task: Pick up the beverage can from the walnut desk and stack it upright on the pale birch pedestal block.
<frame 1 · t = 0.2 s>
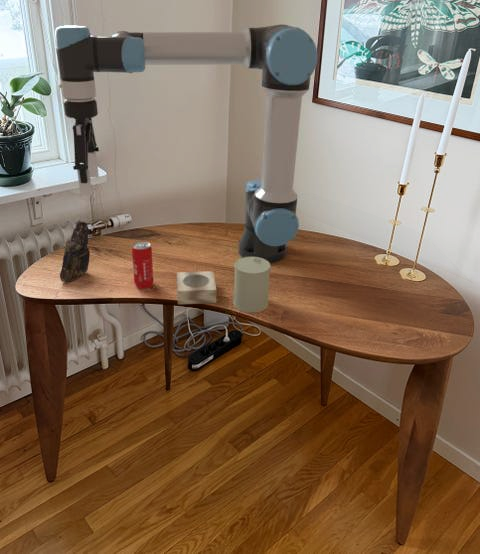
hand: (90, 185, 133), 27 cm above the table, fingers open, 13 cm apart
statue: (77, 275, 147), on the table
can: (250, 304, 137), on the table
beverage can: (144, 285, 144), on the table
base: (196, 293, 140), on the table
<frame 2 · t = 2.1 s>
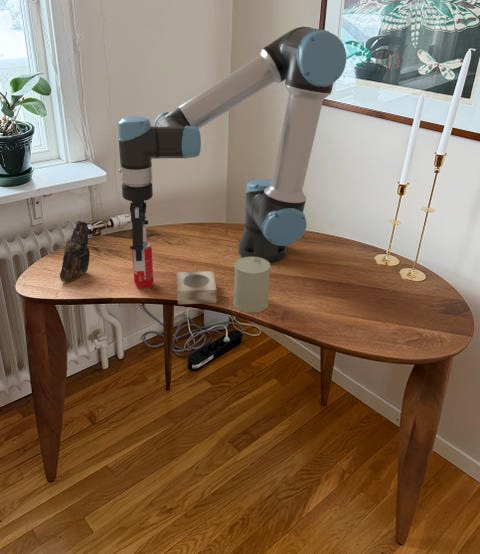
hand: (140, 258, 140), 8 cm above the table, fingers open, 13 cm apart
nothing on the table moved.
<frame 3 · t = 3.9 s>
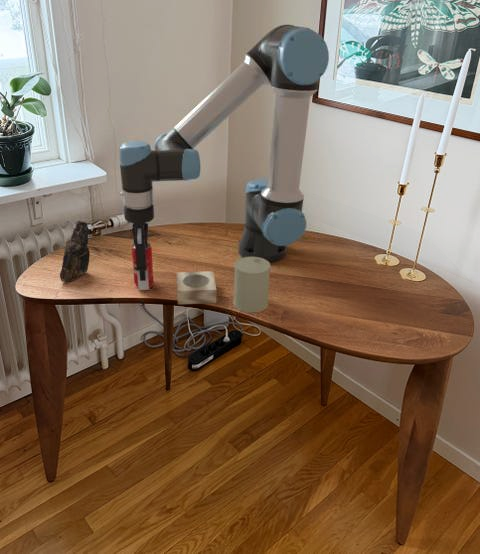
hand: (144, 283, 143), 0 cm above the table, fingers closed on beverage can, 5 cm apart
beverage can: (144, 285, 144), on the table, touching gripper
everything else where it was.
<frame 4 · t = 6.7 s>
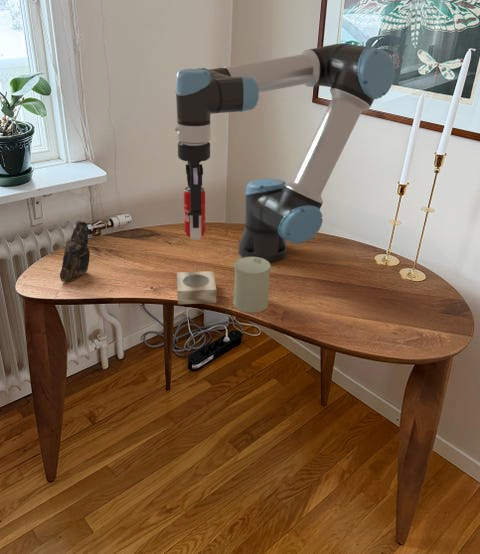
hand: (195, 233, 132), 18 cm above the table, fingers closed on beverage can, 5 cm apart
beverage can: (195, 235, 132), point 17 cm above the table, touching gripper
everything else where it was.
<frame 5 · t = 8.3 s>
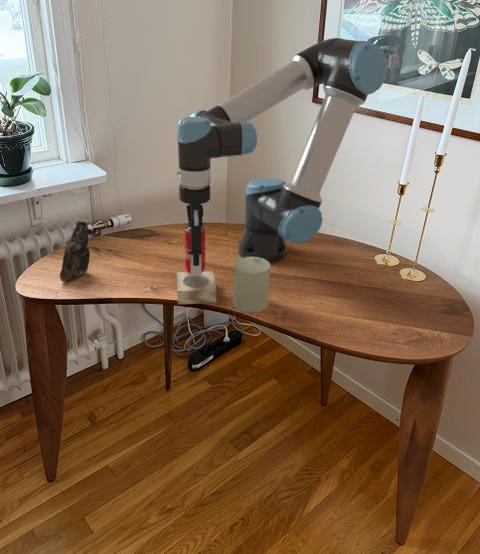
hand: (195, 269, 137), 7 cm above the table, fingers closed on beverage can, 5 cm apart
beverage can: (195, 271, 137), point 7 cm above the table, touching gripper
everything else where it was.
when the fingers open (6 cm above the table, at t = 9.4 s): beverage can drops 1 cm, resting on base.
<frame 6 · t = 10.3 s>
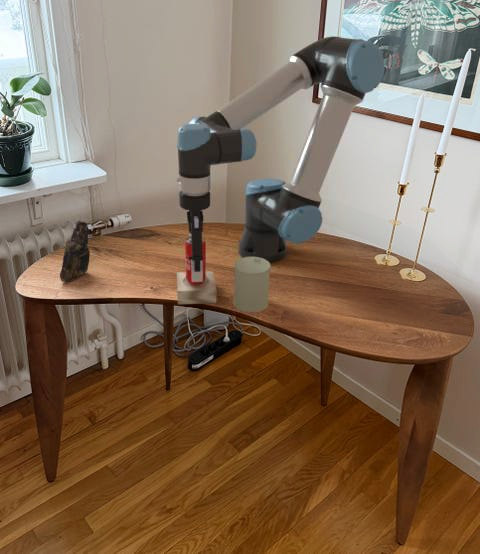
hand: (195, 268, 136), 8 cm above the table, fingers open, 13 cm apart
beverage can: (196, 281, 138), point 4 cm above the table, touching base
everything else where it was.
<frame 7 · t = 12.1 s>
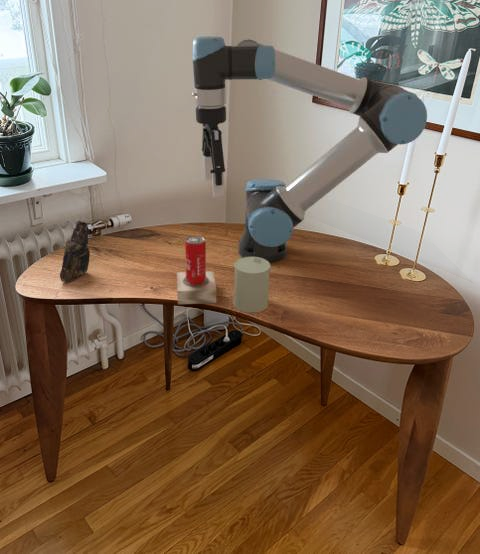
hand: (213, 188, 139), 25 cm above the table, fingers open, 13 cm apart
nothing on the table moved.
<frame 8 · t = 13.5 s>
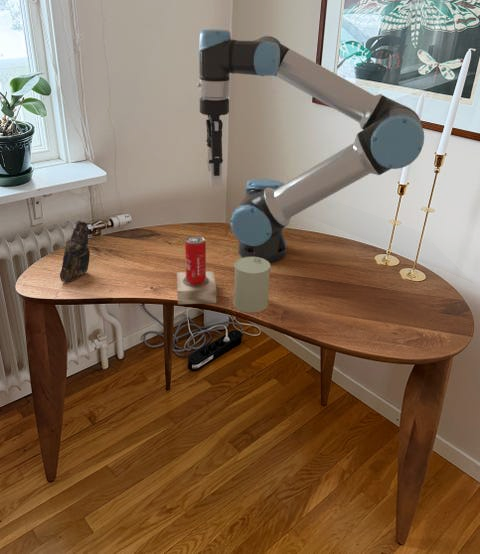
hand: (214, 178, 142), 27 cm above the table, fingers open, 13 cm apart
nothing on the table moved.
at the end: beverage can 0.0 cm from the base (horizontally); beverage can touching base; beverage can tilted 0° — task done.
